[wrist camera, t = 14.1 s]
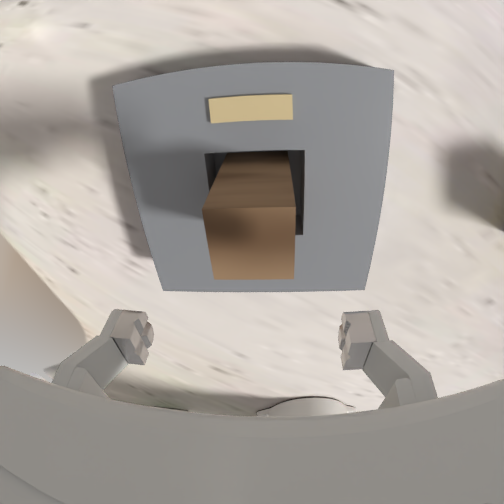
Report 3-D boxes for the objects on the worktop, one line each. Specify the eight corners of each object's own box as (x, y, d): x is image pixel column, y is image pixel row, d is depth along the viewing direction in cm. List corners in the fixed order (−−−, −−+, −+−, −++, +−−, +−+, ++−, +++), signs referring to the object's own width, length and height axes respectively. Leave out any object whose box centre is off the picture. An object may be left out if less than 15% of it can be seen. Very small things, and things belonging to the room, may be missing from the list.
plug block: (288, 204, 24) (293, 279, 16) (232, 205, 24) (214, 279, 17) (287, 151, 21) (295, 206, 14) (227, 153, 21) (201, 209, 14)
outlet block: (355, 261, 28) (365, 292, 24) (174, 263, 29) (162, 293, 26) (374, 67, 17) (395, 70, 14) (136, 80, 19) (110, 86, 15)
